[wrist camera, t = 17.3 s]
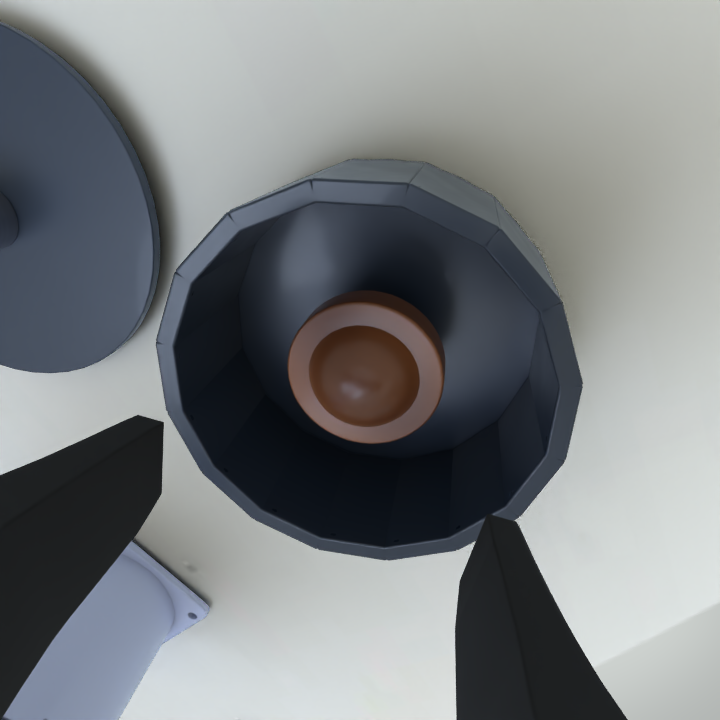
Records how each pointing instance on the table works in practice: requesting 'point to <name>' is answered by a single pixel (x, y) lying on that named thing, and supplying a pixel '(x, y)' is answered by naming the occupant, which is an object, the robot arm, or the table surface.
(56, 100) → the pan lid
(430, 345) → the mushroom
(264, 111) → the table surface
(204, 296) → the pan
